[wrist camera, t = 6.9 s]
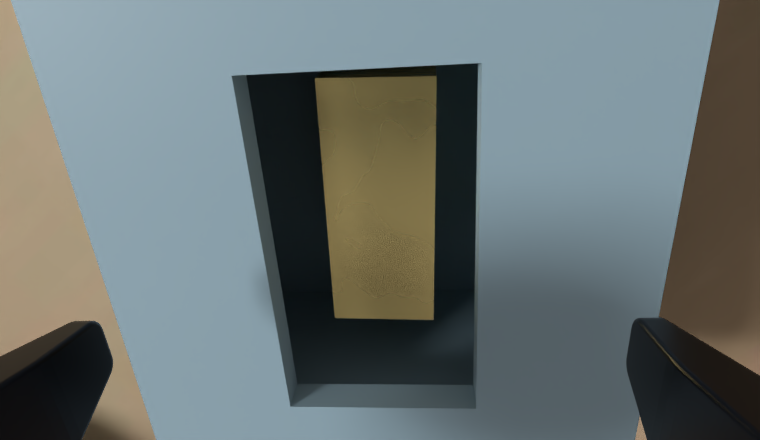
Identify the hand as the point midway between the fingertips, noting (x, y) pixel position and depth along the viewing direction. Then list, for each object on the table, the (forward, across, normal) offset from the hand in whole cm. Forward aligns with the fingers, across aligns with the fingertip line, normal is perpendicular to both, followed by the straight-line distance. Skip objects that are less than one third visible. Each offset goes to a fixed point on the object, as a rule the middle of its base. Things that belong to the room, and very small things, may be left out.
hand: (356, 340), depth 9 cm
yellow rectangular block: (+9, 0, -1) cm, 9 cm away
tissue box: (+10, 0, 0) cm, 10 cm away
